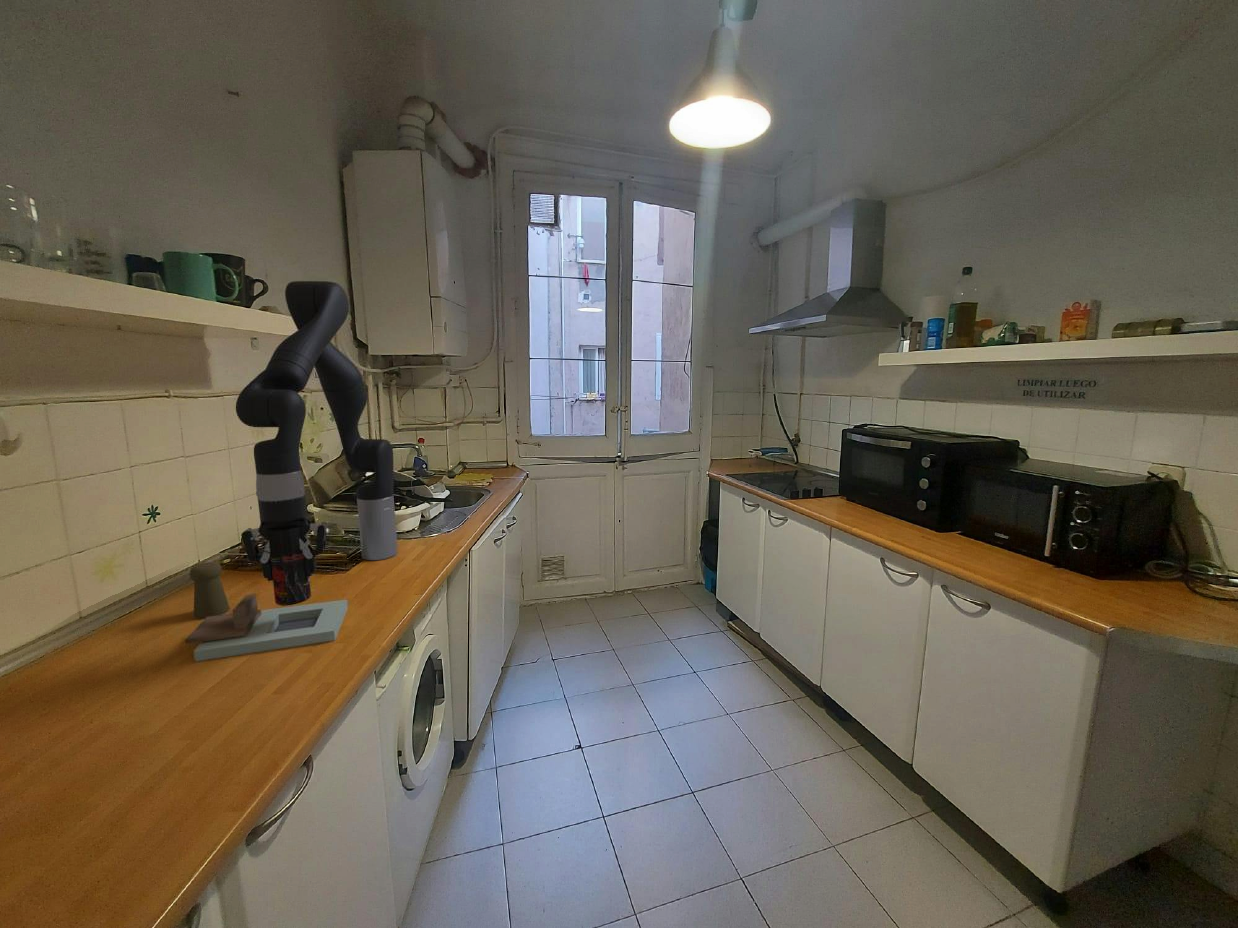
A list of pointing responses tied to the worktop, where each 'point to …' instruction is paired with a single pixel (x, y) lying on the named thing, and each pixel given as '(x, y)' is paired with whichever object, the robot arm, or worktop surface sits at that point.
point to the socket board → (281, 630)
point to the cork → (208, 590)
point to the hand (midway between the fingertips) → (291, 576)
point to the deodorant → (288, 566)
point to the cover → (228, 622)
